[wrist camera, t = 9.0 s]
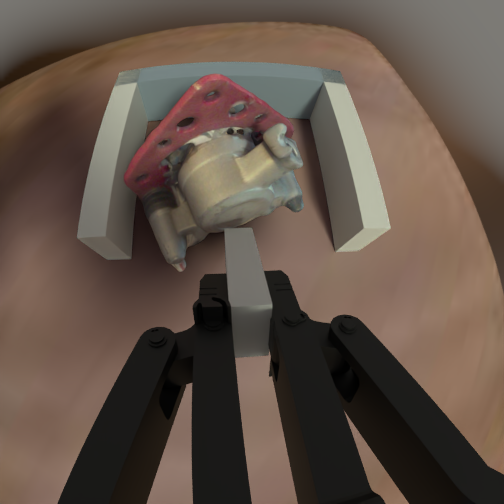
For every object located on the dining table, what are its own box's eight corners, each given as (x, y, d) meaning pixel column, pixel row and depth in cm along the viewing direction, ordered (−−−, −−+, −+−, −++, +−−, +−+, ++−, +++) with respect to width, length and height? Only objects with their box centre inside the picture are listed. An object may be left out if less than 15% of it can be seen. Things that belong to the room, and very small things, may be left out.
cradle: (358, 250, 21) (390, 228, 16) (107, 259, 19) (76, 237, 14) (325, 106, 25) (339, 71, 20) (132, 109, 23) (119, 72, 19)
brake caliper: (250, 93, 22) (324, 53, 11) (281, 209, 26) (364, 251, 15) (120, 133, 20) (81, 112, 9) (163, 253, 24) (170, 333, 13)
